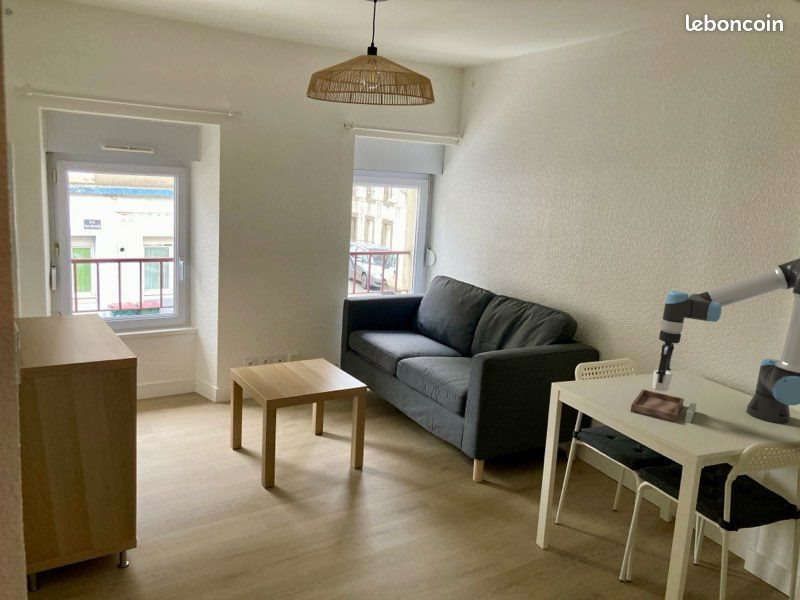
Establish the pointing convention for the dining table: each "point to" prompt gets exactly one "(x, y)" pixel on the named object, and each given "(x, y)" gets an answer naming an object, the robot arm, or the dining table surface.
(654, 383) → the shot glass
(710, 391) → the dining table surface
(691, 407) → the rail
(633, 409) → the tray
